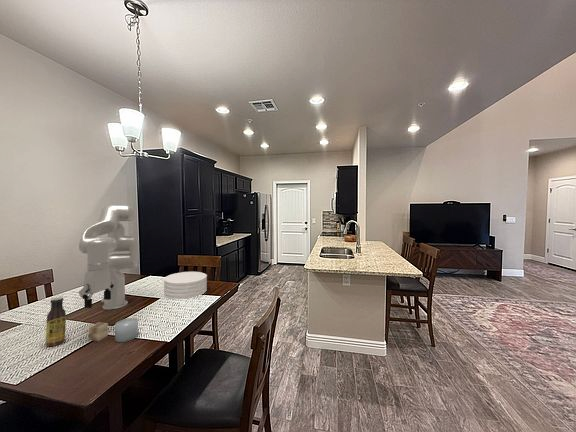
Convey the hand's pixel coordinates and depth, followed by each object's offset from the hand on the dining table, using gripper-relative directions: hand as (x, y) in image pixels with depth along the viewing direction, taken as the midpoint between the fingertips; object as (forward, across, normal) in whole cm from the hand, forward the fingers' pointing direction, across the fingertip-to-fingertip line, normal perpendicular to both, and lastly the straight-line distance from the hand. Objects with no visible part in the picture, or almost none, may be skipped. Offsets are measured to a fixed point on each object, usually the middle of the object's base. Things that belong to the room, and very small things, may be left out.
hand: (98, 303), depth 113 cm
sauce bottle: (+16, +7, -14) cm, 23 cm away
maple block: (+16, 0, 0) cm, 16 cm away
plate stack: (+16, -62, +7) cm, 65 cm away
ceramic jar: (+16, -3, +12) cm, 20 cm away
